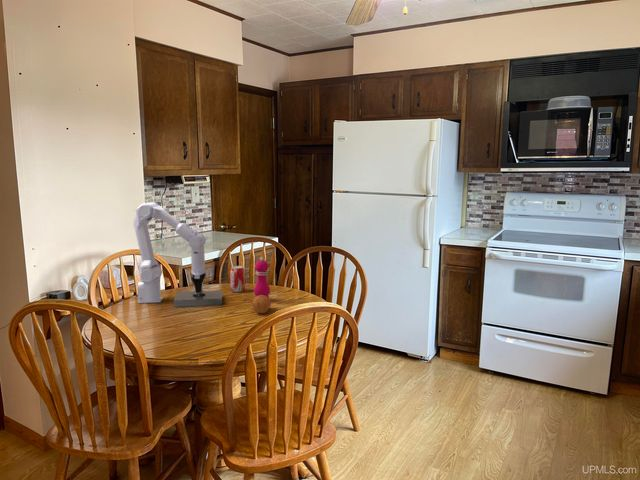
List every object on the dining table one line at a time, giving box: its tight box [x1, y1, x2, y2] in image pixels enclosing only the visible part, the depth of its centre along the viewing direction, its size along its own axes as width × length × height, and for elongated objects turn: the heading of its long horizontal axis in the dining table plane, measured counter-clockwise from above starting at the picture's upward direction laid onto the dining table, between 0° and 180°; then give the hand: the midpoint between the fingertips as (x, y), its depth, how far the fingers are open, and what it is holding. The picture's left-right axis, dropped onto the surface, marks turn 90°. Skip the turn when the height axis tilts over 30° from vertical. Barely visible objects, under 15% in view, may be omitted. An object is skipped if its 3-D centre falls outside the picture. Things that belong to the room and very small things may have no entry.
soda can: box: [229, 265, 246, 293], centre depth 232 cm, size 7×7×12 cm
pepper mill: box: [253, 256, 271, 299], centre depth 214 cm, size 7×7×20 cm
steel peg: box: [193, 282, 204, 297], centre depth 212 cm, size 4×4×9 cm
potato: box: [252, 295, 272, 314], centre depth 199 cm, size 7×13×7 cm, turn 174°
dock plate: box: [173, 290, 224, 308], centre depth 213 cm, size 20×14×3 cm
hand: (198, 291), depth 212 cm, fingers closed on steel peg, 4 cm apart
